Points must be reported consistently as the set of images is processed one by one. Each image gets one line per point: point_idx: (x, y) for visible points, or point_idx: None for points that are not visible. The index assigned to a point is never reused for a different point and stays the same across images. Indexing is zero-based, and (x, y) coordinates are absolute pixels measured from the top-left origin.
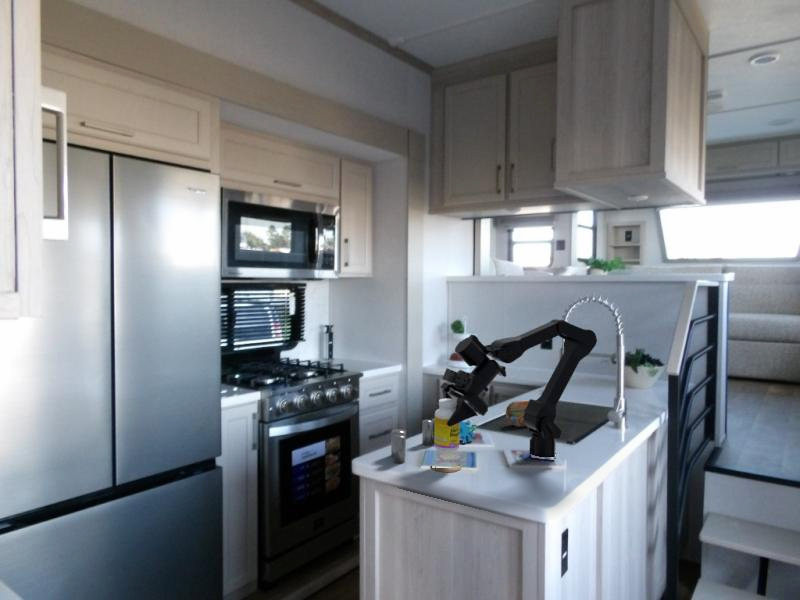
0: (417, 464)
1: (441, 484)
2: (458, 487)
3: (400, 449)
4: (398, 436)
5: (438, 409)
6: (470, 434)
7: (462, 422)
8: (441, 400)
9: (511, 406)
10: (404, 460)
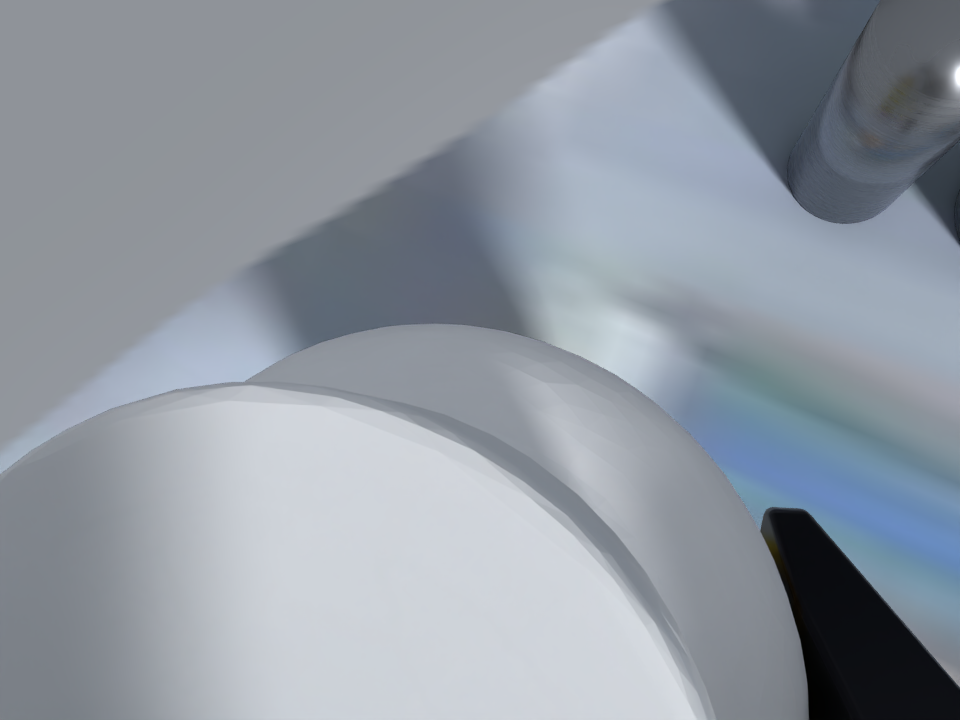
0: (711, 310)
1: (194, 313)
2: (94, 410)
3: (828, 99)
4: (945, 4)
5: (511, 435)
6: None
7: None
8: (350, 545)
9: None
10: (814, 206)
